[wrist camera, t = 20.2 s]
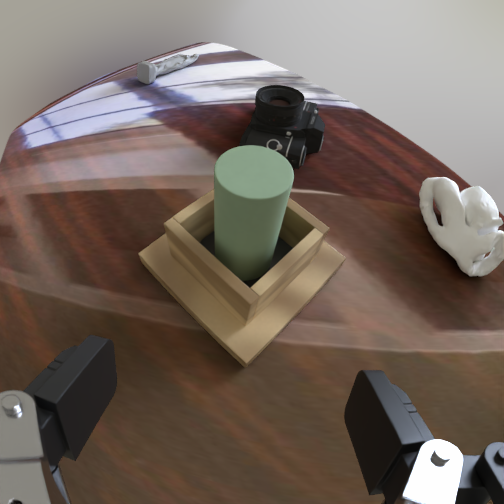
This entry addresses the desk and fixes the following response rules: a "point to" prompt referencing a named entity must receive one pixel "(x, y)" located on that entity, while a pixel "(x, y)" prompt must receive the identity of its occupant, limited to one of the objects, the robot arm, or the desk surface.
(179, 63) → the figurine
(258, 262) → the green tall cylinder
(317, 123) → the film camera
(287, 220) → the display stand
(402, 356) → the desk surface
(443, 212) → the white looped sculpture
